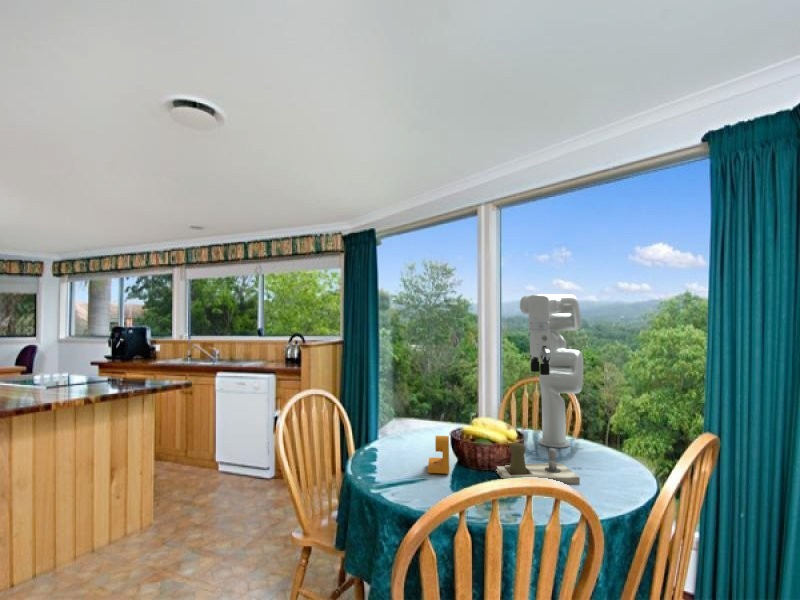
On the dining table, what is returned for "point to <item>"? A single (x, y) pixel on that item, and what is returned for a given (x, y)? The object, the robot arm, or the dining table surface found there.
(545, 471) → the beige panel with knob
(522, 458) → the olive rounded piece
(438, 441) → the bracket
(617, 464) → the dining table surface
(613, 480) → the dining table surface
